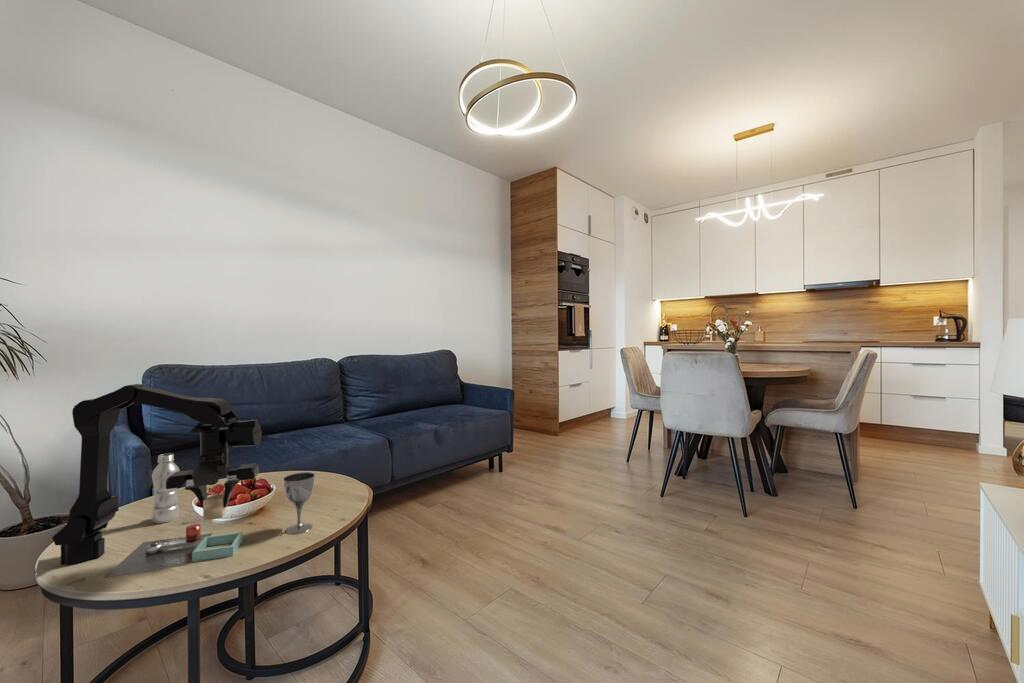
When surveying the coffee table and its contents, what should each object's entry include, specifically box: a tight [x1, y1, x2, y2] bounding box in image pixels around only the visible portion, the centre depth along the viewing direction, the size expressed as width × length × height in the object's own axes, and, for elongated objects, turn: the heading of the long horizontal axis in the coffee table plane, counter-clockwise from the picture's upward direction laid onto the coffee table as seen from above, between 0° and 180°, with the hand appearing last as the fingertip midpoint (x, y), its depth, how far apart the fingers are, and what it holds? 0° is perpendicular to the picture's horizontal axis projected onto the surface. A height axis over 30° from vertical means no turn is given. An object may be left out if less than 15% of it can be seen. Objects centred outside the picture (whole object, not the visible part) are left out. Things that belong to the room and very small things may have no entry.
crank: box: [146, 523, 202, 554], centre depth 103 cm, size 11×3×5 cm, turn 113°
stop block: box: [202, 492, 228, 521], centre depth 105 cm, size 4×4×5 cm
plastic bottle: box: [150, 452, 181, 525], centre depth 120 cm, size 6×7×20 cm
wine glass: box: [282, 471, 315, 535], centre depth 116 cm, size 8×8×15 cm
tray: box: [191, 531, 244, 563], centre depth 103 cm, size 8×8×3 cm
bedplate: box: [104, 532, 214, 578], centre depth 101 cm, size 15×17×1 cm
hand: (215, 508), depth 105 cm, fingers closed on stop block, 4 cm apart
